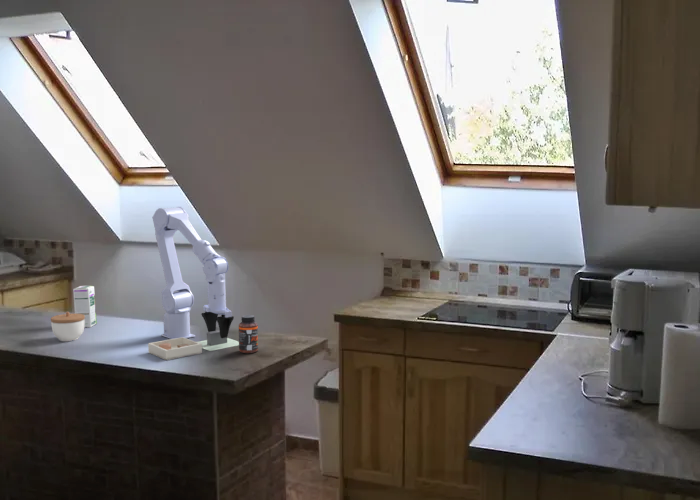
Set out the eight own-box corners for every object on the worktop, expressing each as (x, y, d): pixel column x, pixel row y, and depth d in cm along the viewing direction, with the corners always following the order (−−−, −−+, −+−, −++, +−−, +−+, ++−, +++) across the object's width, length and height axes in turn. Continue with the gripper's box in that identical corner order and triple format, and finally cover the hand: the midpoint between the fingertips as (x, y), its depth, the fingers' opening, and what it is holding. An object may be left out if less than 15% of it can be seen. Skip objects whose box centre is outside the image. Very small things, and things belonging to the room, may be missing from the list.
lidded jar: (58, 344, 236) (56, 316, 235) (47, 339, 244) (45, 311, 243) (90, 339, 243) (89, 312, 242) (78, 333, 251) (77, 307, 250)
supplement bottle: (254, 354, 222) (253, 318, 221) (236, 353, 223) (235, 317, 222) (260, 349, 228) (260, 314, 226) (242, 348, 229) (242, 313, 228)
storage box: (148, 352, 225) (148, 343, 224) (183, 346, 233) (182, 337, 232) (166, 360, 216) (166, 350, 216) (201, 353, 224) (201, 343, 223)
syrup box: (91, 327, 260) (89, 288, 258) (75, 327, 260) (72, 288, 258) (97, 324, 266) (95, 285, 264) (81, 324, 266) (79, 285, 264)
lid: (189, 345, 236) (189, 331, 235) (224, 339, 244) (223, 325, 244) (209, 353, 226) (209, 338, 226) (245, 346, 235) (244, 331, 234)
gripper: (194, 293, 236) (196, 333, 238) (217, 299, 225) (218, 341, 227) (213, 290, 241) (214, 330, 243) (236, 296, 230) (237, 337, 232)
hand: (218, 335), depth 235 cm, fingers open, 7 cm apart
